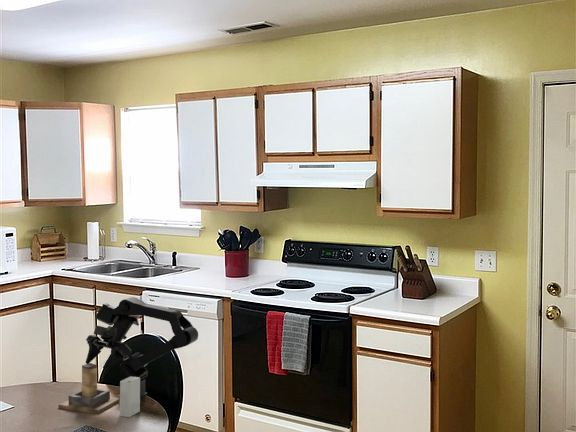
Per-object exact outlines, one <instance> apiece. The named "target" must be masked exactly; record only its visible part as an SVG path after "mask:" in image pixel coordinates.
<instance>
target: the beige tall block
mask: <svg viewBox="0 0 576 432" xmlns="http://www.w3.org/2000/svg"><path fill="white" fill-rule="evenodd" d="M81 389H82V396H83V397H91V398H93V397H95V396H97V389H98V365H97V364H96V363H91V362H90V363H89V364H86V363H85V364H81Z"/></svg>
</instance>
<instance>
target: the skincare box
mask: <svg viewBox="0 0 576 432" xmlns="http://www.w3.org/2000/svg"><path fill="white" fill-rule="evenodd" d="M119 398H120V402H119V416H120V417H126V418H131V417H133V416H134V415H136V414H138V413H139V412H140V411H141V398H140V378H139V377H131V376H130V377H128V378H126V379H124V380H123V379H122V380H120V382H119Z"/></svg>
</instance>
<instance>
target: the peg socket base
mask: <svg viewBox="0 0 576 432" xmlns="http://www.w3.org/2000/svg"><path fill="white" fill-rule="evenodd" d="M118 403H120V397H119V398H118V397H114V396H113V397H111V390H110V389H102V388H97V396H95V397H93V398H91V397H83V396H82V388H81V389H80V390H78V391H76V392H74V393H71V394H70V395H68V399H67V400H65V401H63V402H61V403H59V404H58V409H62V410H70V411H74V412H75V411H77V412H83V413H91V414H98V415H100V414H101V413H102V412H104V411H106V410H108V409H109V408H112V407H113V406H114V405H116V404H118Z"/></svg>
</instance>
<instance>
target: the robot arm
mask: <svg viewBox="0 0 576 432" xmlns="http://www.w3.org/2000/svg"><path fill="white" fill-rule="evenodd" d="M138 316H142V317H143V316H144V317H148V318H153V319H157V320H160V321H165V322H169V324H170V328H171V330H172V333H173V336H172V337H171V338H170V339H169V340H167V341H165V342H164V343H162V344H160V345H158V346H157V347H154V348H153V349H151V350H149V351H147V352H145V353H144V354H141V353H140V351H138V352H135V353H134V354H132V349H131V348H130V347H129V346H128V345H127V344H126V342H122V341H123V340H126V339H127V338H128V337H127V336H126V335H127V333H128V332H129V331H130V329H131V327H132V326H133V325H135V326H137V327H138V326H139V325H140V323H139V317H138ZM96 320H97V321H99V322H102V323H103V324H106V325H108V326H107V327H105V326H101V325H97V324H96V326H95V328H94V331H93V333H92V334H90V335H88V336H87V338H86V339H85V341H86V342H87V343H86V344H88V353H87V356H86V359H85V364H89V363H91V362H92V361H93V360H94V359H95V358H97V356H98V355H100V353H101V352H102V350H103V349H104V348H106V349H110V354H109V356H107V359H106V360H105V362H104V364H103V366H102V369H103V370H106V369H108V368H110V367H111V366H112V365H113V366H114V364H116V363H119V362H120V361H121V360H122V362H121V363H120V365H119V372H120V374H121V375H122V380H124V379H126V378H128V377H130V376H131V377H139V378H140V399H141V398H143V397H144V396H146V395H148V392H146V378H147V377H148V374H149V371H148V369H147V368H146V367H147V365H149V363H151V362H153V361H155V360H157V359H159V358H161V357H163V356H164V355H167V353H168V354H169V352H172V351H173V350H176V349H181V348H184V347H187V346H189V345H191V344H193V343H195V342H196V341H197V340H198V338H199V331H198V330H197V328H195V327H194V325H193V324H192V323H191V321H190V320H188V319H187V318H186V317H185V316H184V314H183V313H182V312H181V311H180V310H178V309H172V308H168V307H162V306H159V305H153V304H149V303H147V302H144V301H143V300H142V299H139V298H138V297H135V296H131V297H128V298H124V299H122V300H120V302H119V304H118V306H116V307H115V306H113V305H110V304H109V303H107V302H106V303H103V304H102V306H101V307H100V309H99V310H98V311H97V313H96ZM99 336H100V337H99Z"/></svg>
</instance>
